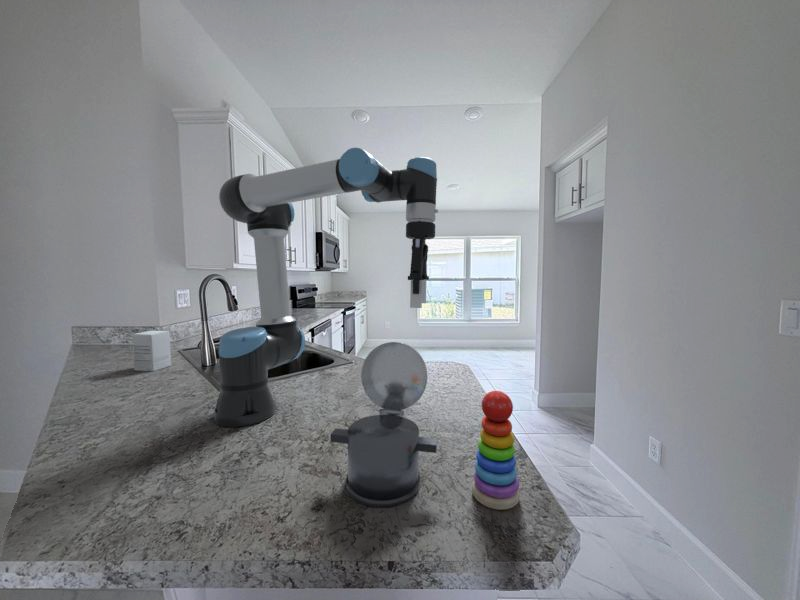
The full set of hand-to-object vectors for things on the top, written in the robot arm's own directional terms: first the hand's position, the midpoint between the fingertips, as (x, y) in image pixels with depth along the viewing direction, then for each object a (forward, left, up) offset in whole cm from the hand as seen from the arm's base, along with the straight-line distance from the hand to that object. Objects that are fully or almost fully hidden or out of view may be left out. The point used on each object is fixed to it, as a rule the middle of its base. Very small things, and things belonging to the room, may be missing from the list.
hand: (418, 305), depth 85 cm
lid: (-3, -20, -14) cm, 24 cm away
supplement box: (-114, +26, -31) cm, 121 cm away
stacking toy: (+17, -28, -31) cm, 45 cm away
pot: (-3, -28, -31) cm, 41 cm away
